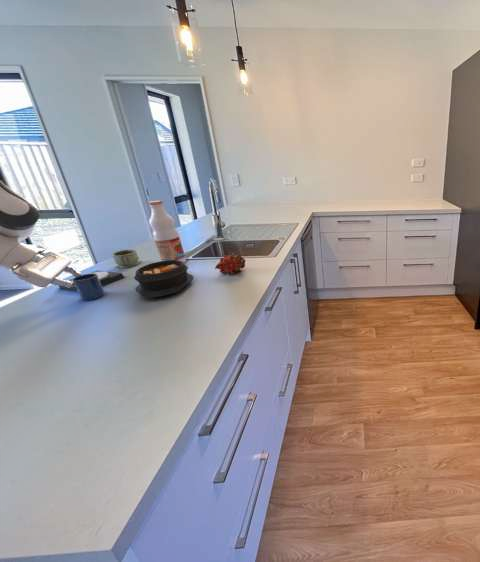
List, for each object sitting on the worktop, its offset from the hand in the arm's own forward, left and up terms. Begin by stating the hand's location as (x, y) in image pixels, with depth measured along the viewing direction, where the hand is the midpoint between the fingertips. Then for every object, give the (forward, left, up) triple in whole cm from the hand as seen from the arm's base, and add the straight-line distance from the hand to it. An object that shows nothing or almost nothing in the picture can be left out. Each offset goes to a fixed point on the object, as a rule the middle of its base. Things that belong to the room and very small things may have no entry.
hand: (76, 280), depth 104 cm
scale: (-12, +10, -7) cm, 17 cm away
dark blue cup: (+2, +1, -7) cm, 8 cm away
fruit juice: (+1, +36, -7) cm, 37 cm away
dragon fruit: (+36, +32, -7) cm, 49 cm away
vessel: (-18, +29, -7) cm, 35 cm away
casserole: (+21, +14, -7) cm, 27 cm away
